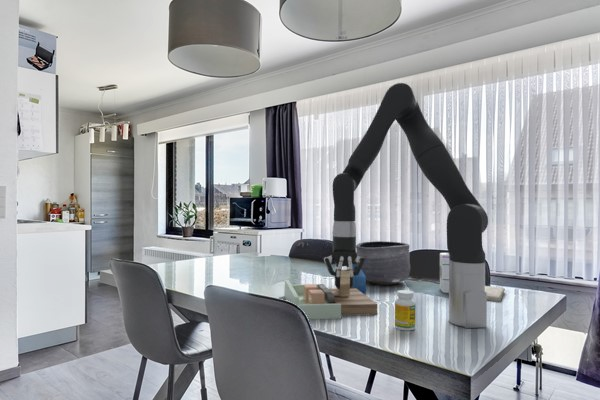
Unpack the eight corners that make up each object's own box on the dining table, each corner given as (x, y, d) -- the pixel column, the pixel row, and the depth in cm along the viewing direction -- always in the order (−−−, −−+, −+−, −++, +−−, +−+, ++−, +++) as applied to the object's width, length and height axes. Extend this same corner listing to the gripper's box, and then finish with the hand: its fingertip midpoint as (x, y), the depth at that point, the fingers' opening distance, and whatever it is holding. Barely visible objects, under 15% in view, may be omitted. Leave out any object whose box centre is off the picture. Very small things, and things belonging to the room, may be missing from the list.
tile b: (317, 287, 126) (305, 287, 125) (317, 302, 126) (305, 302, 125) (315, 284, 131) (303, 284, 130) (314, 298, 131) (303, 299, 130)
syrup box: (457, 293, 144) (458, 254, 145) (441, 292, 146) (441, 254, 146) (454, 290, 150) (455, 252, 150) (438, 289, 151) (439, 252, 151)
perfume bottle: (365, 293, 143) (365, 260, 144) (355, 295, 139) (356, 262, 139) (351, 290, 148) (352, 258, 148) (342, 292, 143) (342, 260, 143)
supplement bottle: (398, 323, 107) (398, 288, 107) (417, 327, 104) (418, 291, 104) (391, 328, 102) (392, 292, 102) (411, 332, 99) (412, 294, 99)
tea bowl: (372, 273, 180) (372, 236, 179) (418, 280, 167) (418, 240, 166) (345, 285, 160) (345, 244, 159) (396, 294, 147) (396, 249, 146)
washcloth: (505, 294, 147) (505, 285, 147) (501, 304, 132) (501, 294, 132) (471, 289, 153) (471, 282, 154) (464, 299, 138) (464, 290, 138)
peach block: (324, 293, 117) (311, 293, 117) (324, 309, 117) (311, 310, 117) (321, 289, 122) (308, 289, 122) (320, 305, 122) (308, 305, 122)
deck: (377, 314, 115) (377, 304, 116) (338, 315, 114) (338, 305, 114) (355, 296, 137) (356, 288, 137) (322, 297, 135) (322, 288, 136)
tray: (340, 318, 111) (341, 297, 111) (295, 319, 109) (295, 298, 109) (320, 295, 139) (321, 278, 139) (284, 296, 137) (284, 279, 137)
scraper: (355, 301, 118) (355, 274, 118) (327, 301, 116) (328, 275, 117) (341, 289, 134) (341, 266, 134) (317, 290, 132) (317, 266, 132)
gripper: (325, 235, 121) (325, 291, 121) (368, 235, 123) (368, 290, 123) (320, 234, 128) (320, 286, 128) (361, 234, 130) (361, 285, 130)
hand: (343, 288), depth 125 cm, fingers closed on scraper, 3 cm apart
